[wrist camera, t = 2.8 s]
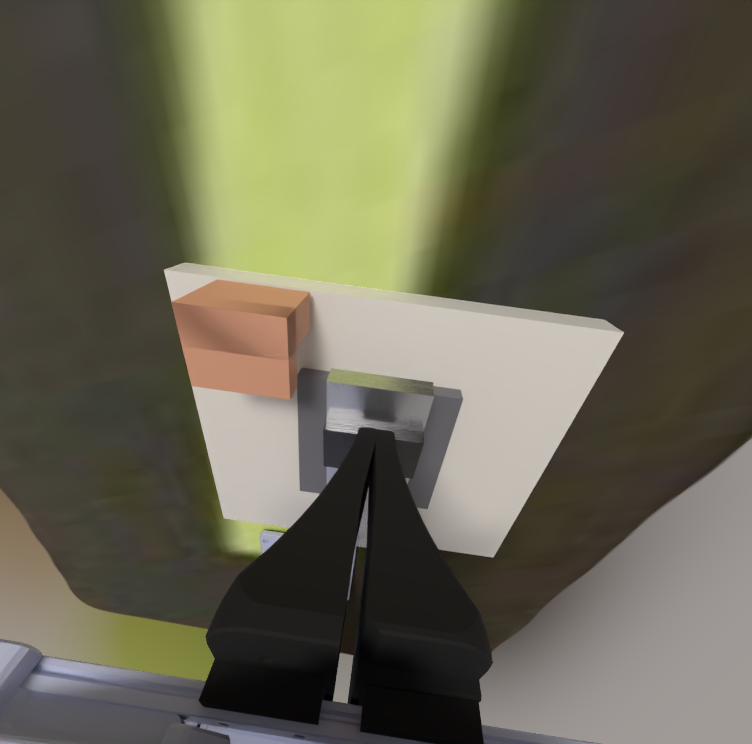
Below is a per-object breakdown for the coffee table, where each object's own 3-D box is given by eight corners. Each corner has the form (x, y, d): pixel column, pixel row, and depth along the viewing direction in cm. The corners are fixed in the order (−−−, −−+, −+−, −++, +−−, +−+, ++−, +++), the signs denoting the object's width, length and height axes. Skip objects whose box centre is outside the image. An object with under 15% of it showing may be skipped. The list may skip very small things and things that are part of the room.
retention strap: (388, 532, 21) (387, 559, 19) (330, 523, 21) (324, 550, 20) (432, 377, 12) (435, 408, 11) (332, 363, 12) (322, 392, 11)
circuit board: (488, 537, 24) (502, 597, 20) (233, 500, 24) (204, 554, 21) (604, 319, 14) (668, 362, 11) (184, 262, 15) (116, 286, 11)
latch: (309, 363, 15) (290, 399, 12) (228, 351, 15) (191, 385, 12) (310, 291, 13) (286, 318, 11) (216, 279, 13) (171, 301, 11)
